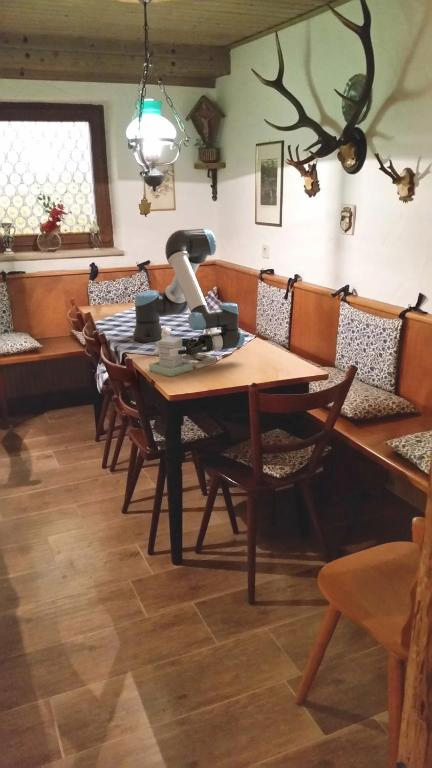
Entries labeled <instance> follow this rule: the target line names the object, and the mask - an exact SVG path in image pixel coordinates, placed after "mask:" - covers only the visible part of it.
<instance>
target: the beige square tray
mask: <svg viewBox="0 0 432 768" xmlns="http://www.w3.org/2000/svg"><path fill="white" fill-rule="evenodd" d="M193 358H194V359H197V358H198V359H197V360H200V361H196V362H195V361H191V360H193ZM183 361H186V362H190V363H192V366H193V370H197V369H201V368H204V367H207V366H210V365H213V364H214V365H215V364H216V363H217V357H216V356H213V355H209V354H205V353H202V352H200V353H197V354H194V355H191V356H190V355H186V354H185V355H183Z"/></svg>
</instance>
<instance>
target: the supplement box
mask: <svg viewBox="0 0 432 768" xmlns="http://www.w3.org/2000/svg"><path fill="white" fill-rule="evenodd" d="M180 338H181V337H180ZM180 338H178V337H170V336H169V337H166V338H164V339H162V340H160V341H158V342H159V355H158V361H159V366H161V367H165V368H168V369H173V368H176V367H179V366H183V355H178V356H171V357H170V349H177V348H183V346H182V339H180Z"/></svg>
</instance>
